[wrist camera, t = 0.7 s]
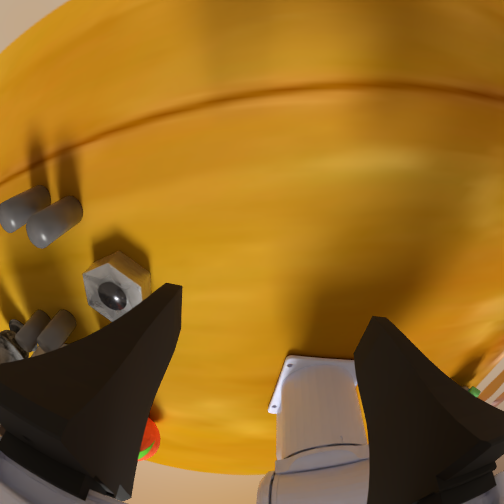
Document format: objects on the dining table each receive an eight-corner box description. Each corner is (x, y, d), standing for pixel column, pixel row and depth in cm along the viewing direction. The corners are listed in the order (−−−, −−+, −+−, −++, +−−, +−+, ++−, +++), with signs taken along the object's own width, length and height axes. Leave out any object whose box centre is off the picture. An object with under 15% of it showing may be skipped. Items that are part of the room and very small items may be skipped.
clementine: (143, 396, 29) (126, 444, 23) (181, 424, 32) (170, 470, 25) (107, 404, 32) (90, 444, 25) (143, 430, 34) (130, 469, 28)
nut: (153, 315, 24) (145, 332, 22) (102, 303, 24) (91, 318, 22) (150, 254, 21) (139, 269, 19) (93, 244, 21) (79, 257, 19)
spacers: (172, 364, 26) (160, 399, 22) (39, 323, 26) (19, 347, 22) (171, 198, 19) (147, 221, 15) (8, 183, 18) (-25, 198, 15)
